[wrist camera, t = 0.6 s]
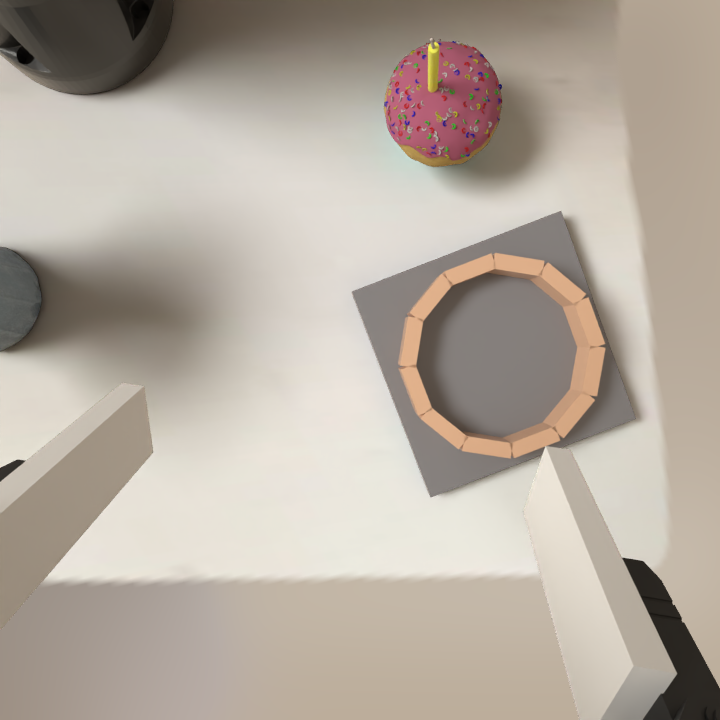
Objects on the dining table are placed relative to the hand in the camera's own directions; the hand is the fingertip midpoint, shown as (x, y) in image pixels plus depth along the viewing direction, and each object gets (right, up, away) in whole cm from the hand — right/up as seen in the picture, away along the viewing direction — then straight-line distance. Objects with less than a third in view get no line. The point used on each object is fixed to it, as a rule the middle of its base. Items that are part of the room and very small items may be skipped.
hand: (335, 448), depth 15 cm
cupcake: (+7, +22, +23) cm, 32 cm away
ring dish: (+12, +3, +23) cm, 26 cm away
